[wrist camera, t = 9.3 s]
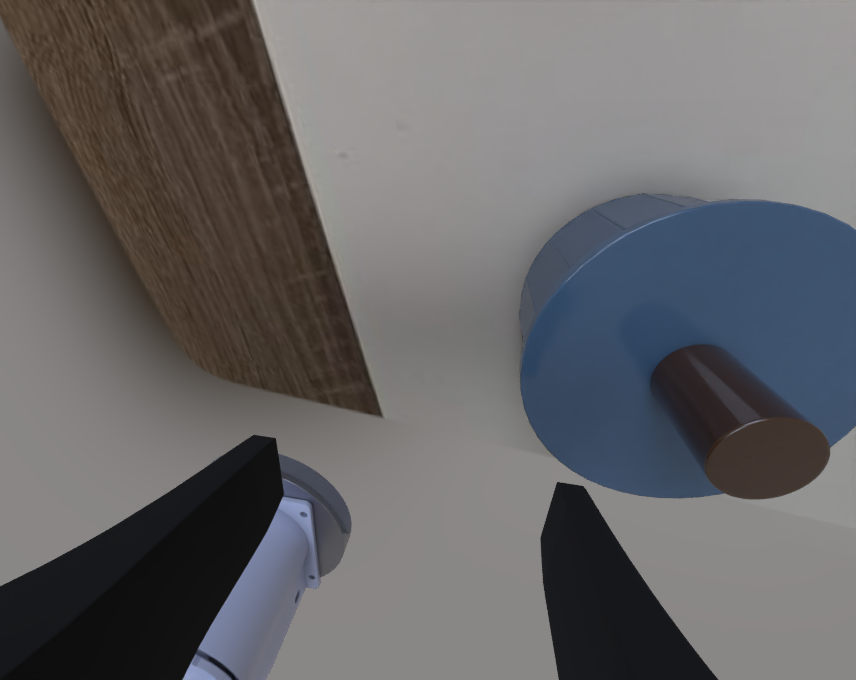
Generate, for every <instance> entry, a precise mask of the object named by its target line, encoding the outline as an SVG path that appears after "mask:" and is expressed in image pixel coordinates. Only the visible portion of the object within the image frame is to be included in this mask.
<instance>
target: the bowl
mask: <svg viewBox="0 0 856 680" xmlns="http://www.w3.org/2000/svg"><path fill="white" fill-rule="evenodd" d="M702 202H709V201H705V200H701V199H696V198H692V197H683V196H672V195H665V194H644V193H643V194H638V195H633V196H627V197H623V198H618V199H614V200H611V201H608V202H606V203H603V204H600V205H598V206H596V207H594V208H592V209H590V210H588V211H586V212H584V213H582V214H580V215H579V216H577V217H576V218H574V219H573V220H571V221H570V222H568V223H567V224H566V225H565V226H564V227H562V228H561V229H560V230H559V231H558V232H556V233H555V235H554V236H553V237H552V238H551V239H550V240H549V241H548V242H547V243H546V244H545V246H544V247H543V248H542V250H541V251H540V252H539V254H538V255H537V257H536V258H535V260H534V262H533V264H532V265H531V267H530V269H529V272H528V274H527V276H526V279H525V282H524V286H523V290H522V295H521V304H520V312H519V319H520V325H521V331H522V337H523V343H524V341H525V337H526V333H527V331H528V329H529V326H530V324H531V322H532V319H533V317H534V315H535V313H536V312H537V310H538V308H539V307H540V305H541V303H542V302H543V300H544V298H545V297H546V295H547V294H548V293H549V292H550V290H551V289H552V288H553V286H554V285H555V284H556V283H557V281H558V280H559V279H560V278H561V277H562V276H563V275H564V274H565V273H566V272H567V271H568V270H569V269H570V268H571V267H572V266H573V265H574V264H575V263H576V262H577V261H578V260H579V259H581V258H582V257H583V256H585V255H586V254H587V253H588V252H590V251H591V250H592V249H593V248H595V247H596V246H597V245H599V244H600V243H602V242H604V241H605V240H607V239H608V238H610V237H612V236H613V235H615V234H617V233H618V232H620V231H622V230H624V229H626V228H628V227H630V226H632V225H634V224H636V223H638V222H640V221H642V220H645V219H647V218H650V217H652V216H655V215H658V214H661V213H664V212H667V211H670V210H672V209H676V208H680V207H685V206H689V205H694V204H698V203H702Z"/></svg>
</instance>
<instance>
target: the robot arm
mask: <svg viewBox="0 0 856 680" xmlns="http://www.w3.org/2000/svg"><path fill="white" fill-rule="evenodd" d="M283 496H284V489H283V482H282V476H281V469H280V463H279V456H278V450H277V443H276V439H275V438H271V437H264V436H257V435H253V436H251V437H250V438H249V439H247V440H245V441H244V442H242V443H241V444H239V445H238V446H236V447H235V448H233V449H232V450H230V451H229V452H227V453H226V454H225V455H223V456H222V457H220V458H219V459H217V460H216V461H214V462H213V463H211V464H210V465H209V466H207V467H206V468H204V469H203V470H201V471H200V472H198V473H197V474H195V475H194V476H192V477H191V478H189V479H188V480H186V481H185V482H183V483H182V484H180V485H179V486H177V487H176V488H174V489H173V490H171V491H170V492H168V493H167V494H165V495H163V496H162V497H160V498H159V499H157V500H155V501H154V502H153V503H151V504H149V505H147V506H146V507H144V508H143V509H141V510H139V511H138V512H136V513H134V514H133V515H131V516H130V517H128V518H127V519H125V520H123V521H122V522H120V523H118V524H117V525H115V526H113V527H112V528H110V529H108V530H106V531H105V532H103V533H101V534H100V535H98V536H96V537H94V538H93V539H91V540H89V541H87V542H85V543H84V544H82V545H80V546H78V547H77V548H74V549H73V550H71V551H69V552H67V553H65V554H63V555H61V556H60V557H58V558H56V559H54V560H52V561H50V562H49V563H46V564H44V565H43V566H41V567H39V568H37V569H35V570H33V571H30V572H28V573H26V574H24V575H22V576H20V577H18V578H17V579H14V580H12V581H10V582H9V583H6V584H4V585H2V586H0V680H266V678H267V676H268V674H269V673H270V671H271V669H272V666H273V664H274V662H275V659H276V657H277V654H278V652H279V650H280V647H281V645H282V643H283V640H284V638H285V636H286V633H287V631H288V628H289V626H290V624H291V621H292V619H293V617H294V614H295V612H296V610H297V607H298V605H299V603H300V600H301V598H302V595H303V593H304V591H305V588H306V587H308V588H313V589H316V588H318V587H319V585H320V583H321V580H320V571H319V562H318V553H317V544H316V535H315V526H314V518H313V509H312V505H311V503H310V502H308V501H306V500H300V499H295V498H289V497H283ZM541 557H542V573H543V584H544V591H545V598H546V604H547V610H548V616H549V623H550V629H551V635H552V641H553V647H554V653H555V658H556V665H557V671H558V677H559V680H718V679H717V678H716V676H715V675H714V674H713V673H712V671H711V670H710V669H709V668H708V666H707V665H706V664H705V663H704V661H703V660H702V659H701V658H700V656H699V655H698V654H697V652H696V651H695V650H694V648H693V647H692V646H691V645H690V643H689V642H688V641H687V639H686V638H685V637H684V635H683V634H682V633H681V631H680V630H679V629H678V627H677V626H676V625H675V623H674V622H673V620H672V619H671V618H670V617H669V615H668V614H667V612H666V611H665V610H664V608H663V607H662V606H661V604H660V603H659V601H658V600H657V598H656V597H655V596H654V594H653V593H652V591H651V590H650V589H649V587H648V586H647V584H646V583H645V581H644V580H643V578H642V577H641V575H640V574H639V572H638V571H637V569H636V568H635V566H634V565H633V564H632V562H631V561H630V559H629V558H628V556H627V555H626V553H625V551H624V550H623V548H622V547H621V545H620V544H619V542H618V541H617V539H616V537H615V536H614V534H613V533H612V531H611V530H610V528H609V526H608V525H607V523H606V522H605V520H604V518H603V517H602V515H601V513H600V512H599V510H598V509H597V507H596V505H595V504H594V502H593V500H592V499H591V497H590V495H589V494H588V492H587V490H586V489H585V488H584V487H583V486H579V485H573V484H566V483H560V482H557V484H556V488H555V491H554V494H553V498H552V501H551V504H550V508H549V511H548V515H547V518H546V521H545V525H544V528H543V531H542V535H541Z"/></svg>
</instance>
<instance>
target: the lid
mask: <svg viewBox="0 0 856 680" xmlns="http://www.w3.org/2000/svg"><path fill="white" fill-rule="evenodd" d="M520 389H521V395H522V400H523V405H524V409H525V412H526V414H527V417H528V420H529V422H530V424H531V426H532V428H533V430H534V432H535V433H536V435H537V437H538V438H539V439H540V441H541V442H542V443H543V445H544V446H545V447H546V448H547V450H548V451H549V452H550V453H551V454H552V455H553V456H555V457H556V458H557V459H558V460H559V461H560V462H561V463H562V464H564V465H565V466H566V467H568V468H569V469H571V470H572V471H573V472H575V473H577V474H579V475H580V476H582V477H584V478H586V479H587V480H590V481H592V482H595V483H597V484H599V485H602V486H604V487H607V488H610V489H614V490H617V491H620V492H624V493H629V494H634V495H639V496H647V497H656V498H693V497H704V496H711V495H718V494H724V493H725V494H728V495H730V496H734V497H737V498H742V499H769V498H775V497H779V496H783V495H786V494H789V493H792V492H794V491H796V490H798V489H801V488H802V487H804V486H806V485H807V484H809V483H810V482H812V481H813V480H814V479H815V478H816V477H817V476H819V475H820V473H821V472H822V471H823V470H824V468H825V467H826V465H827V463H828V460H829V457H830V447H832V446H833V445H834V444H835V443H837V442H838V441H839V440H841V439H842V438H843V437H844V436H846V435H847V434H848V433H849V432H850V431H851V430H852V429H853V428H854V427H855V426H856V230H855V229H854V228H853V227H851V226H850V225H848V224H846V223H844V222H842V221H840V220H838V219H836V218H834V217H832V216H830V215H828V214H825V213H822V212H819V211H815V210H812V209H809V208H805V207H802V206H798V205H793V204H787V203H781V202H774V201H767V200H754V199H729V200H720V201H711V202H702V203H698V204H694V205H689V206H685V207H680V208H676V209H672V210H670V211H667V212H664V213H661V214H658V215H655V216H652V217H650V218H647V219H645V220H642V221H640V222H638V223H636V224H634V225H632V226H630V227H628V228H626V229H624V230H622V231H620V232H618V233H617V234H615V235H613V236H612V237H610V238H608V239H607V240H605V241H604V242H602V243H600V244H599V245H597V246H596V247H595V248H593V249H592V250H591V251H590V252H588V253H587V254H586V255H585V256H583V257H582V258H581V259H579V260H578V261H577V262H576V263H575V264H574V265H573V266H572V267H571V268H570V269H569V270H568V271H567V272H566V273H565V274H564V275H563V276H562V277H561V278H560V279H559V280H558V281H557V283H556V284H555V285H554V286H553V288H552V289H551V290H550V292H549V293H548V294H547V295H546V297H545V298H544V300H543V302H542V303H541V305H540V307H539V308H538V310H537V312H536V313H535V315H534V317H533V319H532V322H531V324H530V326H529V329H528V331H527V333H526V337H525V341H524V344H523V348H522V352H521V360H520Z"/></svg>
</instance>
